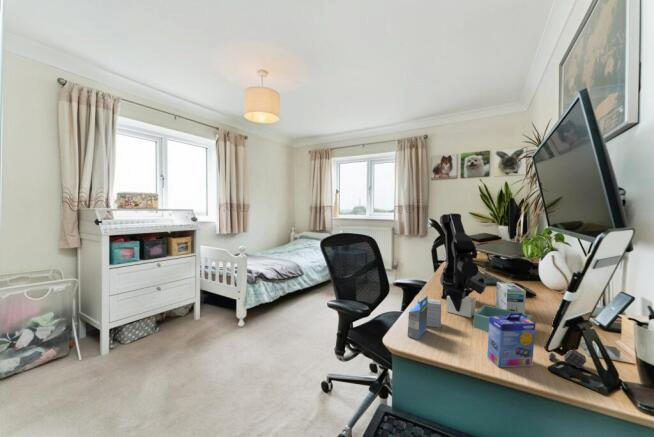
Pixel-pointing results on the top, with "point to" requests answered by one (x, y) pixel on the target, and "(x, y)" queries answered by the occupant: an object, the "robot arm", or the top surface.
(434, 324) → the medicine box
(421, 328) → the label tape box
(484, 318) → the box
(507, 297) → the light bulb box
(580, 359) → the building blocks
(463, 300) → the small crate
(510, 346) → the ink cartridge box
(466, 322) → the top surface
